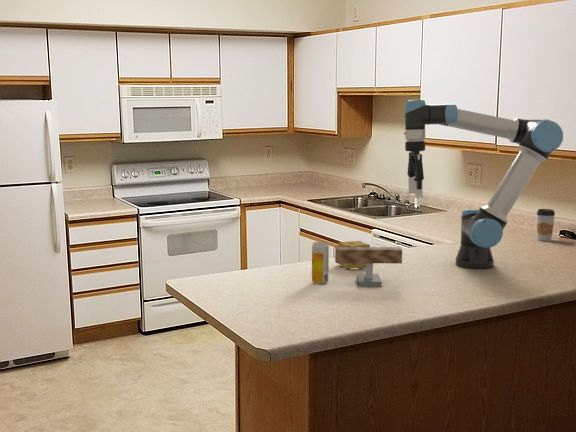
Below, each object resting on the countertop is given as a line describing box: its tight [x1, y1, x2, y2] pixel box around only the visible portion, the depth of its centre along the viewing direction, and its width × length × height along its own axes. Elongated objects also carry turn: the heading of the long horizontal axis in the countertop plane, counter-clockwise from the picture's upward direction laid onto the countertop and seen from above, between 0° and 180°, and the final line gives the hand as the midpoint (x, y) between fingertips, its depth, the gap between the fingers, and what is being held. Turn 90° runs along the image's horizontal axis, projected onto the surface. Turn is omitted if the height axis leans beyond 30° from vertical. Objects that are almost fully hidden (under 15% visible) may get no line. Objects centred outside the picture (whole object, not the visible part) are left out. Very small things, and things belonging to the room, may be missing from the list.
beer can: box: [311, 241, 330, 286], centre depth 252 cm, size 6×6×15 cm
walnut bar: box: [334, 246, 403, 264], centre depth 251 cm, size 24×5×5 cm, turn 88°
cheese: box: [337, 240, 371, 270], centre depth 279 cm, size 10×11×10 cm
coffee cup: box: [536, 208, 556, 242], centre depth 334 cm, size 8×8×15 cm
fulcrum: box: [356, 263, 383, 288], centre depth 252 cm, size 8×12×8 cm, turn 178°
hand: (415, 195), depth 266 cm, fingers open, 13 cm apart
